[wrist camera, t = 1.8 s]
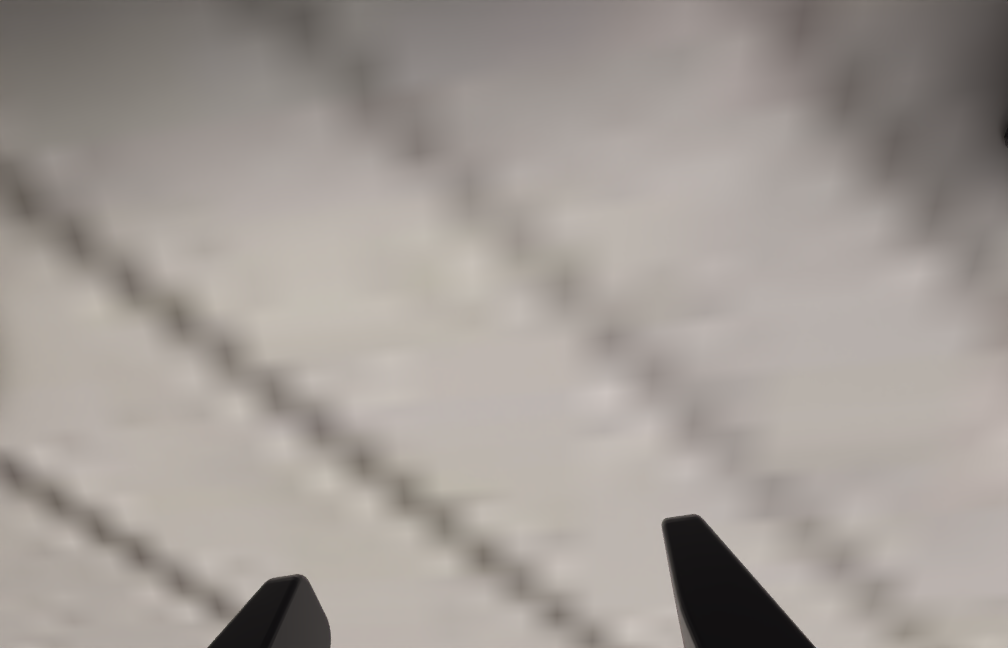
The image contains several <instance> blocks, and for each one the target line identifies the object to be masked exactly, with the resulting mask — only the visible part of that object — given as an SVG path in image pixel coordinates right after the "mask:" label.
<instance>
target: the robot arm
mask: <svg viewBox="0 0 1008 648" xmlns="http://www.w3.org/2000/svg"><path fill="white" fill-rule="evenodd" d="M1005 142H1006V146H1007V147H1008V128H1007V130H1006V134H1005ZM662 531H663V537H664V543H665V548H666V554H667V559H668V565H669V571H670V576H671V581H672V587H673V592H674V597H675V602H676V607H677V613H678V618H679V623H680V628H681V633H682V638H683V644H684V648H816V647H815V646H814V645H813V644H812V643H811V642H810V640H809V639H808V638H807V637H806V636H805V635H804V634H803V632H802V631H801V630H800V629H799V628H798V627H797V626H796V624H795V623H794V622H793V621H792V620H791V619H790V618H789V616H788V615H787V614H786V613H785V612H784V611H783V610H782V608H781V607H780V606H779V605H778V604H777V603H776V602H775V600H774V599H773V598H772V597H771V596H770V595H769V594H768V592H767V591H766V590H765V589H764V588H763V587H762V586H761V585H760V583H759V582H758V581H757V580H756V579H755V578H754V577H753V575H752V574H751V573H750V572H749V571H748V570H747V569H746V567H745V566H744V565H743V564H742V563H741V562H740V561H739V559H738V558H737V557H736V556H735V555H734V554H733V553H732V551H731V550H730V549H729V548H728V547H727V546H726V545H725V543H724V542H723V541H722V540H721V539H720V538H719V537H718V535H717V534H716V533H715V532H714V531H713V530H712V529H711V527H710V526H709V525H708V524H707V523H706V522H705V521H704V520H703V519H702V518H701V517H700V516H699V515H696V514H690V515H684V516H677V517H671V518H666V519H664V520H663V522H662ZM330 645H331V632H330V626H329V622H328V620H327V617H326V615H325V613H324V611H323V609H322V607H321V605H320V603H319V601H318V599H317V597H316V595H315V592H314V590H313V588H312V586H311V584H310V582H309V581H308V579H307V578H306V577H305V576H303V575H299V574H296V575H289V576H283V577H276V578H272V579H270V580H268V581H267V582H265V583H264V584H263V585H262V587H261V588H260V589H259V590H258V591H257V592H256V593H255V594H254V596H253V597H252V598H251V599H250V600H249V601H248V602H247V604H246V605H245V606H244V607H243V608H242V609H241V610H240V611H239V613H238V614H237V615H236V616H235V617H234V618H233V619H232V620H231V622H230V623H229V624H228V625H227V626H226V627H225V628H224V630H223V631H222V632H221V633H220V634H219V635H218V636H217V637H216V639H215V640H214V641H213V642H212V643H211V644H210V645H209V647H208V648H330Z"/></svg>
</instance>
